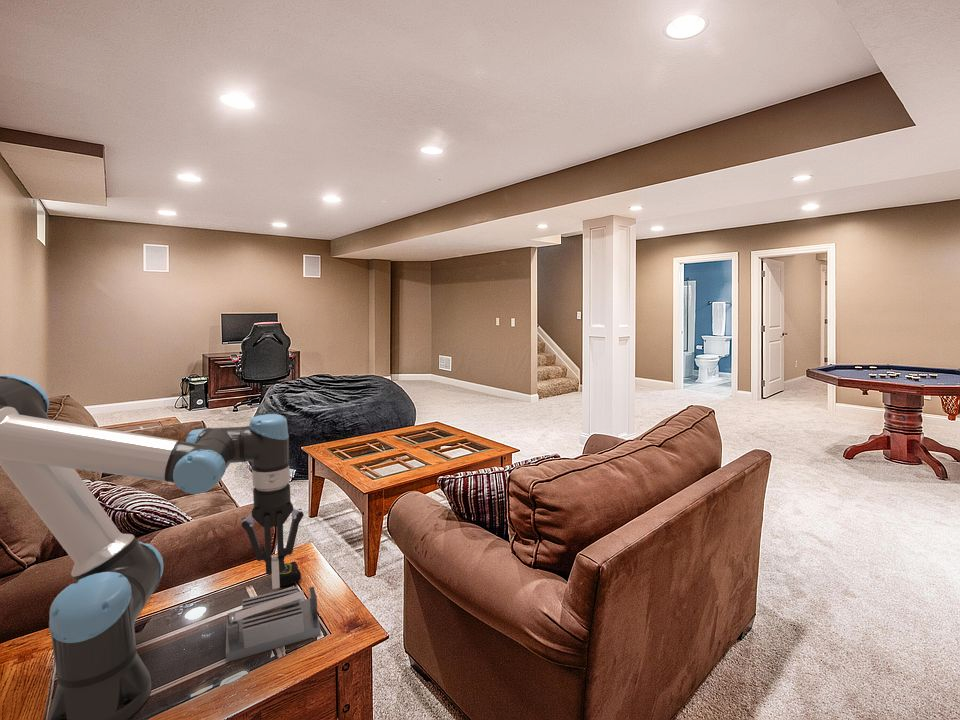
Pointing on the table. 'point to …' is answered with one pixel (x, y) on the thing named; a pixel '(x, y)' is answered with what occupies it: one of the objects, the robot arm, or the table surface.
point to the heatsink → (272, 625)
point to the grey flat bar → (266, 607)
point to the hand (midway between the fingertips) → (275, 585)
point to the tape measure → (289, 574)
